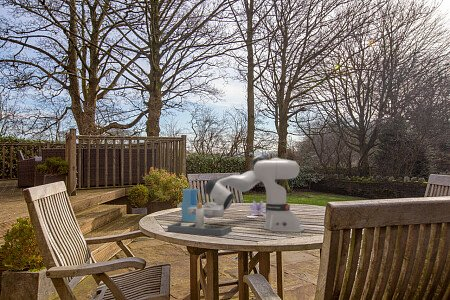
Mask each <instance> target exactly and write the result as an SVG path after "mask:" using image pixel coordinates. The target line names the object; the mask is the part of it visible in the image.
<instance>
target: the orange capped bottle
mask: <svg viewBox="0 0 450 300" xmlns="http://www.w3.org/2000/svg"><path fill="white" fill-rule="evenodd" d="M197 203H198V208H196V221H195V223H196V227H195V228H205V227H206V226H205V225H204V222H205V221H204V219H205V218H204V217H205V216H204V208H202V207H203V203H202V202H197Z"/></svg>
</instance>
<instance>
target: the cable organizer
mask: <svg viewBox="0 0 450 300" xmlns="http://www.w3.org/2000/svg"><path fill="white" fill-rule="evenodd" d="M195 227H196V222H195V223H192V224H189V225H182V221H178V222H176V223H172V224H169V225H167V232H168V233H169V232H171V233H182V234H183V233H184V234H194V235H204V236H205V235H206V236H213V237H215V236H216V237H223V236H225V235H228V234H229V233H231V232H232V231H233V229H232V225H229V226H227V227H224V228H217V227H215V225H214V224H210V225H208V226H204V227H205V228H195Z"/></svg>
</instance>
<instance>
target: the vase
mask: <svg viewBox="0 0 450 300" xmlns="http://www.w3.org/2000/svg"><path fill="white" fill-rule="evenodd" d="M181 191H182V196H183V197H182V202H181V204H180V208H181V219H180V222H185V223H193V222H196V215H193V214H188V208H190V207H198V203H199V202H198V200H197V198H198V197H197V196H198V193H199V189H197V188H195V189H193V188H188V189H187V188H186V189H185V188H184V189H181Z"/></svg>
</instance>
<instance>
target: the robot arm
mask: <svg viewBox="0 0 450 300" xmlns="http://www.w3.org/2000/svg"><path fill="white" fill-rule="evenodd" d="M251 163H252V166H253V170H248V171H245V172H243V173H240V174H227V175H224V176H222V177H219V178H214V179H210V180H208V181H207V182H206V183H205V185H204V192H205V194H206V195H208V196H209V197H211V199H213V200H214V201H210V202H209V201H208V202H205V203H204V204H202V208H204V217H205V218H208V219H212V218H217V217H219V218H221V217H224V215H225V212H226V211H227V210H228V209H229V208H230V206H231V205H232V204H233V201H234V194H233V192H232V191H231V190H229V189H228V188H227V187H225V186H229V187H231V188H233V189H235V190H236V191H239V192H242V193H243V192H244V193H245V192H248V191H250V190H251V189H253V188H254V187H255V186H256V185H257V184H259V183H260V184H259V185H260V186H263V187H264V188H265V192H266V203H265V207H266V209H265V214H266V216H265V222H264V226H263V229H265V230H266V231H267V230H268V231H270V232H281V233H282V232H284V233H286V232H287V233H301V232H303V231H305V227H304V226H302V225H301V222H300V221H301V220H300V218H299V217H298V216H297V215H296V214H294V212H292V211H291V210H290V209H291V205H290V204H288V203H287V190H286V188H285V187H284V186H282V185H280V184H278V183H277V182H278V181H279V180H290V179H291V180H292V179H295V178H297V177H298V176H299V174H300V165H299V163H298V162H297V161H296V160H291V159H284V158H280V157H272V158H270V156H267V155H265V154H258V155H256V156H255V157H254V158H253V159H252V161H251ZM196 208H198V207H190V208H188V214H193V215H196Z"/></svg>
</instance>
